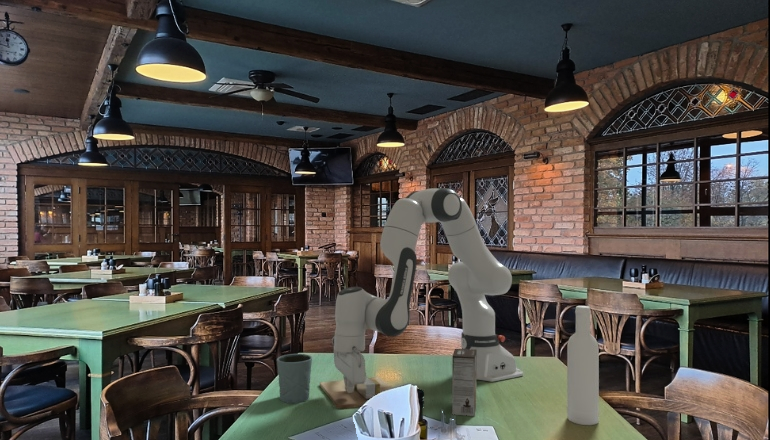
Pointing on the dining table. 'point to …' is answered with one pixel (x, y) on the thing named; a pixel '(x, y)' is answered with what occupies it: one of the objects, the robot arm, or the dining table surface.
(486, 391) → the dining table surface
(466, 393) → the coffee box
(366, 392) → the swing bar
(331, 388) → the plate
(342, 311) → the robot arm
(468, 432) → the dining table surface
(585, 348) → the bottle
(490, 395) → the dining table surface
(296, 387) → the grey cup
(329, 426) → the dining table surface
